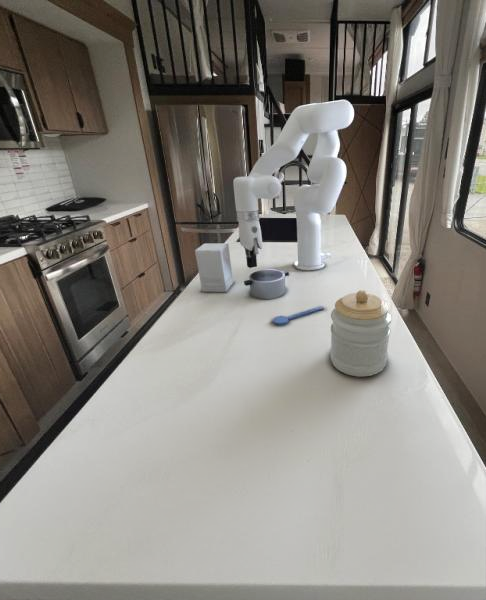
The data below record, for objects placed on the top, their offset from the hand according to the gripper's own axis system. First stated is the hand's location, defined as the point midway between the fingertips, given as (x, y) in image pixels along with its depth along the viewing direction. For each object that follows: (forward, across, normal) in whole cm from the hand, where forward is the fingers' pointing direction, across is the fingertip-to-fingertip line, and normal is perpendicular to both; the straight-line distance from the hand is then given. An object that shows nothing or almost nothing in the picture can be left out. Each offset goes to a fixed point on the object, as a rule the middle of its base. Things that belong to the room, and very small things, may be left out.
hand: (252, 266), depth 118 cm
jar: (+6, -59, 0) cm, 59 cm away
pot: (+6, -12, 0) cm, 13 cm away
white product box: (+6, +2, +13) cm, 14 cm away
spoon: (+6, -33, +1) cm, 33 cm away
